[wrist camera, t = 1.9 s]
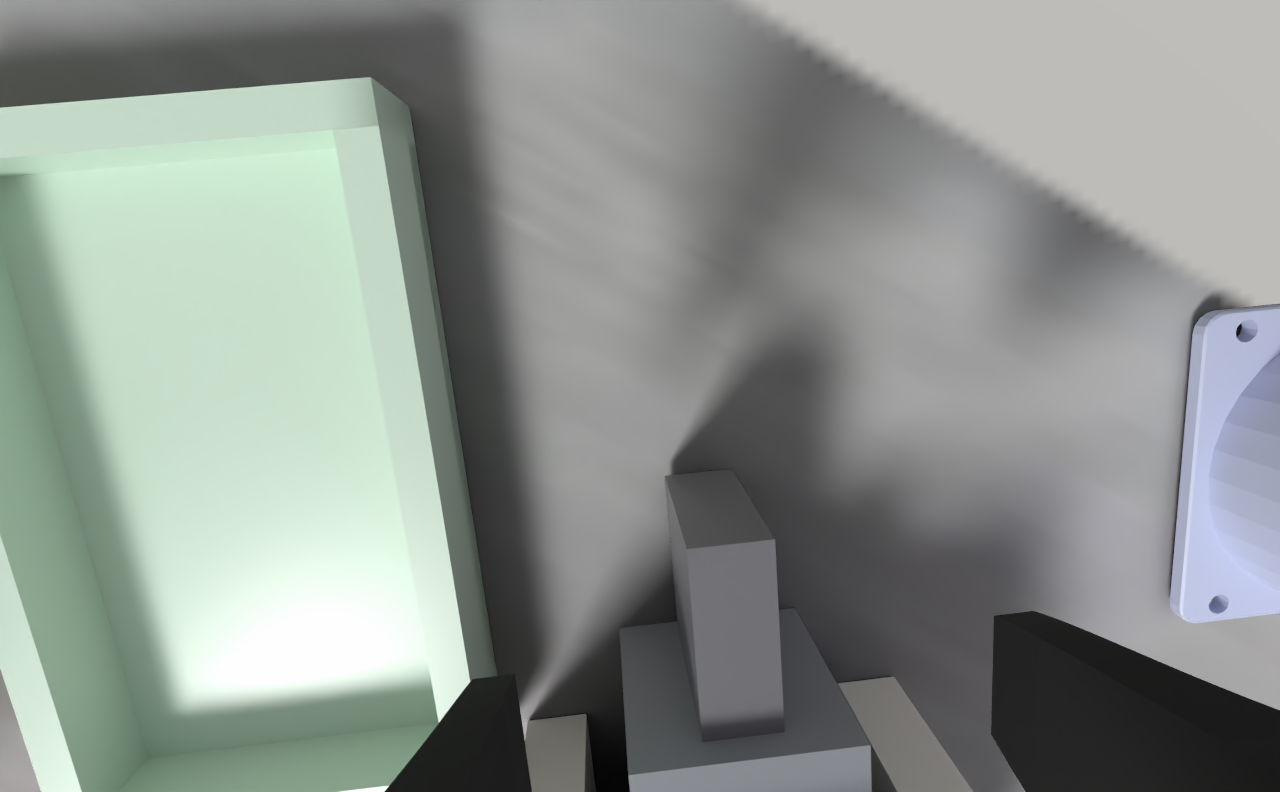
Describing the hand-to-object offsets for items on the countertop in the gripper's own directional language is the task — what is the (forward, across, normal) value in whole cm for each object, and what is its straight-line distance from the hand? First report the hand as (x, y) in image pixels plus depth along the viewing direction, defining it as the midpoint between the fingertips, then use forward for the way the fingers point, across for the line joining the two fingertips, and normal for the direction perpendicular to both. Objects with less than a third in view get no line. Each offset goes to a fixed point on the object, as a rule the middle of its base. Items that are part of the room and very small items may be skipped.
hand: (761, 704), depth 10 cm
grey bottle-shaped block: (+7, 0, +4) cm, 8 cm away
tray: (+7, +10, -2) cm, 12 cm away
